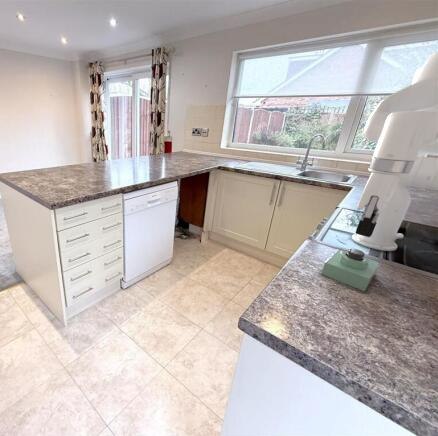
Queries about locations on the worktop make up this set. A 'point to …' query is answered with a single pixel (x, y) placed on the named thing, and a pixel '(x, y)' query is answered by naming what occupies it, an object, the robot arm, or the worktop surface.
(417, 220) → the worktop surface
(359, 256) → the grey metal rounded piece
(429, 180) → the robot arm
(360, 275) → the green stepped base
